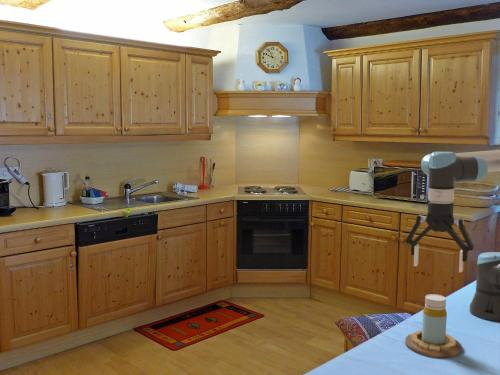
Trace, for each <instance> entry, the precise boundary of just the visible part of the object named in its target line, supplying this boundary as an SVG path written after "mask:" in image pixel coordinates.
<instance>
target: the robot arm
mask: <svg viewBox="0 0 500 375" xmlns="http://www.w3.org/2000/svg"><path fill="white" fill-rule="evenodd" d="M420 169H421V171H422V173H423V174H425V175H426V176H428V190H427V191H428V192H427V194H428V196H427V200H428V203H427V214H426V216H424V215H422V214H418V215H417V216H416V221H415V224H414V225H413V227H412V229H411V230H410V232H409V233H408V236H407V237H406V239H405V243H406V244H409V245H410V255H411V256H413V267H417V266H419V255H420V254H419V253H420V252H419V251H420V250H419V249H420V245H419V244H418V243H419V241H421V240H422V239H423V237H425V236H426V234H428V233H429V232H430V231H431V230H432V231H433V232H441V233H446V232H447V233H448V235H450V237H451V238H452V239H453V240H454V241H455V242H456V245H458V247H459V248H460V250H459V262H458V263H459V265H458V273H463V271H464V263H466V262H467V261H468V252H470V251H473V250H474V248H475V244H474V242H473V240H472V239H471V237H470V234H469V232H468V230H467V228H466V226H465V219H464V218H463V217H462V218H455V217H454V208H455V207H454V205H455V204H454V203H453V202H454V201H455V183H456V182H457V183H458V182H475V181H481V180H483V179H484V178H485V177H486V176H487V175H488V173H495V172H500V149H495V150H480V151H479V150H478V151H469V152H457V153H456V152H454V151H433V152H432V153H428V154H426V155H425V156H424V157H423V158H422V159H421V163H420ZM424 222H426V223H427V225H428V226H427V227H425V229H423V231H422V232H421V233H420V234H419V235H417V236H416V238H414V236H415V235H416V233H417V231H418V229H419V228H420V226H421V224H422V223H424ZM454 224H456V226H457V227H459V231H460V232H461V234H462V237H463V239H464V241H465V242H464V241H463V239H462V238H461V237H460V236H459V234H458V233H457V232H456V231H455V229H454V228H453V225H454ZM413 238H414V239H413ZM475 281H476V282H475V284H476V285H475V293H474V295H473V297H472V300H471V302H470V305H469V313H471V314H472V315H473V316H475V317H477V318H479V319H483V320H487V321H488V320H489V321H494V322H500V251H490V252H489V251H488V252H481V253H480V254H479V255H478V258H477V263H476V280H475Z"/></svg>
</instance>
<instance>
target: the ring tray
mask: <svg viewBox="0 0 500 375" xmlns="http://www.w3.org/2000/svg"><path fill="white" fill-rule="evenodd" d="M404 342H405V343H404V344H405V346H406V347H407V349H409V350H410V351H412V352H414V353H416V354H419V355H422V356H424V357H428V358H429V357H430V358H436V359H447V358H448V359H450V358H454V357H457V356H460V354H462V350H463V346H462V344H461V343H460V342H459V341H458V340H457V339H455V338H454V337H453V336H452V335H450V334H448V333H446V338H445V344H444V345H432V344H427V343H424V342H423V341H422V330H416V331H414V332H413V333H410V334H408V335H407V336H406V337H405V340H404Z"/></svg>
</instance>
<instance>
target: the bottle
mask: <svg viewBox="0 0 500 375" xmlns="http://www.w3.org/2000/svg"><path fill="white" fill-rule="evenodd" d="M446 306H447V298H446V297H445V296H443V295H442V294H434V293H433V294H432V293H430V294H426V295H425V298H424V307H423V311H422V325H421V326H422V341H423V342H424V343H427V344H432V345H444V344H445V338H446V334H447V333H446V332H447V317H448V316H447V309H446Z"/></svg>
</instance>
